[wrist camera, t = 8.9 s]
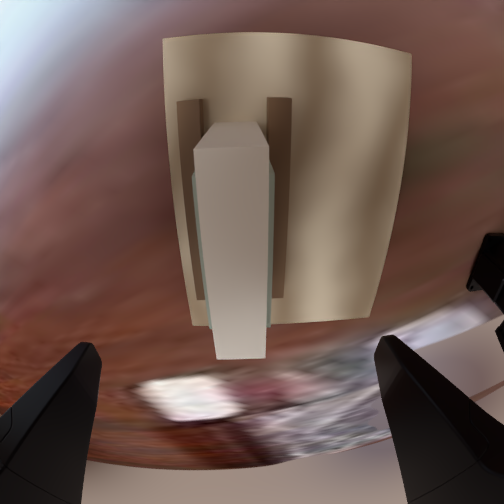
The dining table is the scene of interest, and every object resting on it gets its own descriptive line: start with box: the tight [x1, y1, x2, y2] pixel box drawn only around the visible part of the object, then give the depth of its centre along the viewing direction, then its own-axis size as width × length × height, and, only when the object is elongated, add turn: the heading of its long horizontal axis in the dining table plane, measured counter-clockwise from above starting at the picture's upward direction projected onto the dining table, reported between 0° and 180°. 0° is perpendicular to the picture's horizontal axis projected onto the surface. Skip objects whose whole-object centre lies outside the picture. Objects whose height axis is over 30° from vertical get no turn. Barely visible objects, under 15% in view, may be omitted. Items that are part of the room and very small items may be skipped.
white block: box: [192, 121, 275, 359], centre depth 15 cm, size 10×3×8 cm, turn 1°
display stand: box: [163, 32, 412, 326], centre depth 18 cm, size 15×21×2 cm
